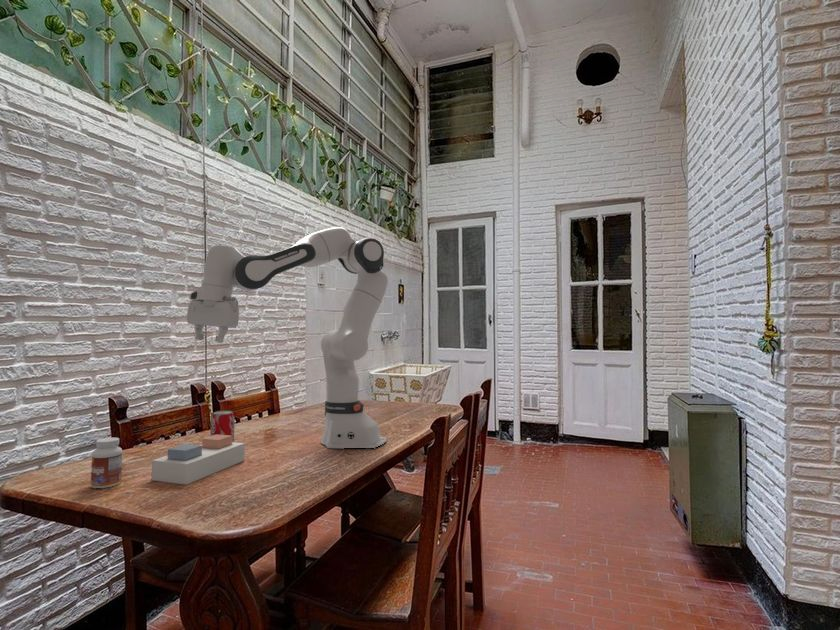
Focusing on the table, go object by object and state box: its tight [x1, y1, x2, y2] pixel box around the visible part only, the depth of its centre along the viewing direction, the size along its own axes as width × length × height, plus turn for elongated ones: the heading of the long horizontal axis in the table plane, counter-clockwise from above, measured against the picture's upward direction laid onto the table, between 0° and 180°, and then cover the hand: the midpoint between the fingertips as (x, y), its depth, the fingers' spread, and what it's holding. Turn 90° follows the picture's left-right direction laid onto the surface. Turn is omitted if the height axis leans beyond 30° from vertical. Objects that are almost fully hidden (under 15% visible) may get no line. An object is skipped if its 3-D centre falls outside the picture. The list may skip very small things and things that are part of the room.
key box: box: [150, 441, 246, 485], centre depth 123 cm, size 11×22×5 cm, turn 164°
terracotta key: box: [201, 434, 232, 449], centre depth 128 cm, size 6×6×4 cm
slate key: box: [167, 443, 202, 461], centre depth 117 cm, size 6×6×4 cm
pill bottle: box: [90, 437, 123, 489], centre depth 110 cm, size 6×6×11 cm
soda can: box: [209, 410, 235, 442], centre depth 143 cm, size 7×7×12 cm
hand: (209, 340), depth 136 cm, fingers open, 8 cm apart
